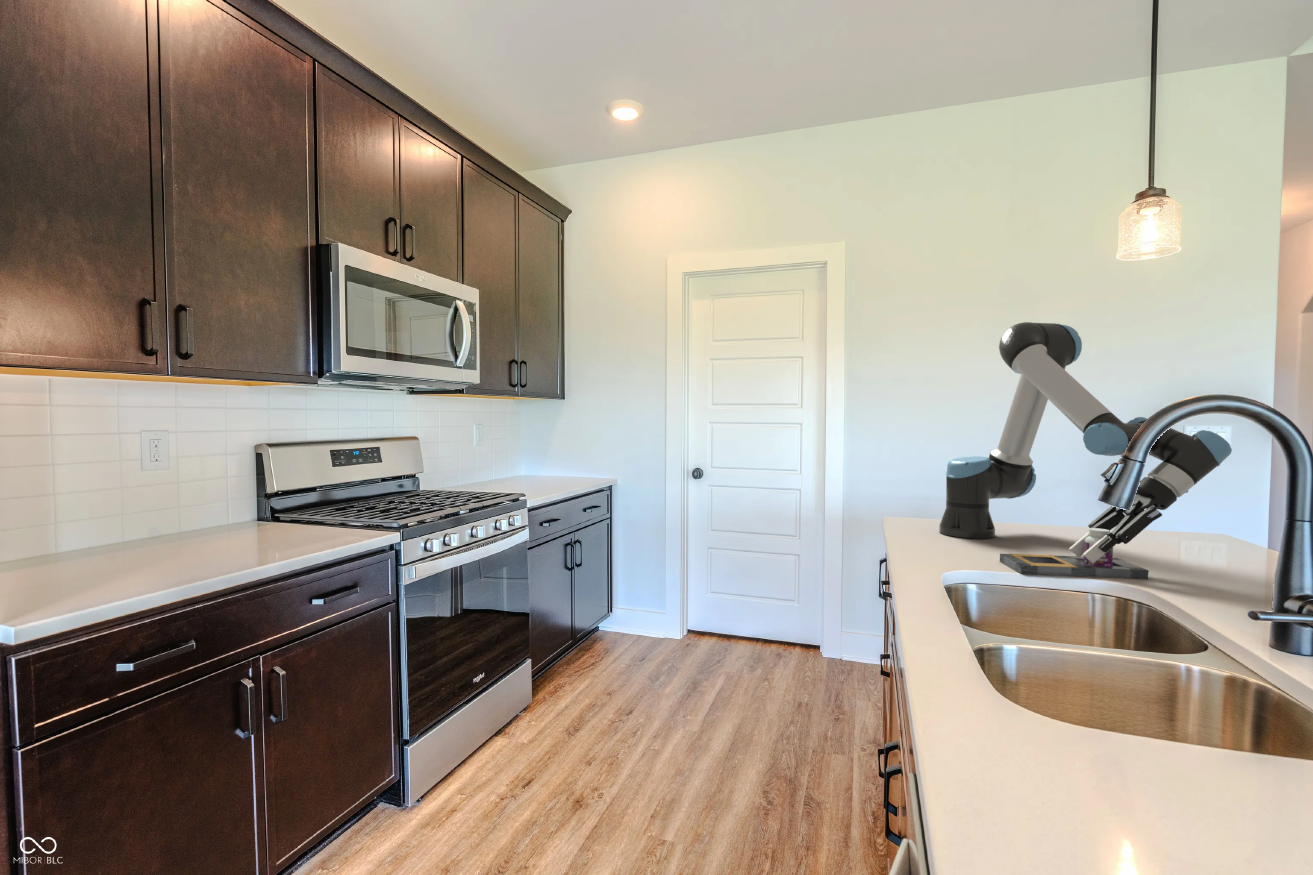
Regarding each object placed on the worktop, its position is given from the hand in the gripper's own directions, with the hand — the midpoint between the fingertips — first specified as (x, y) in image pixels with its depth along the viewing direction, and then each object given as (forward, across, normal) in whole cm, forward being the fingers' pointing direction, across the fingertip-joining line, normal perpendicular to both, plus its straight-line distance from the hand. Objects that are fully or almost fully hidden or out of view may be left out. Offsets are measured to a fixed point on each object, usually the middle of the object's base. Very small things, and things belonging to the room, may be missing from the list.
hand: (1080, 555), depth 142 cm
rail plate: (+4, 0, -1) cm, 4 cm away
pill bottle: (0, 0, -5) cm, 5 cm away
